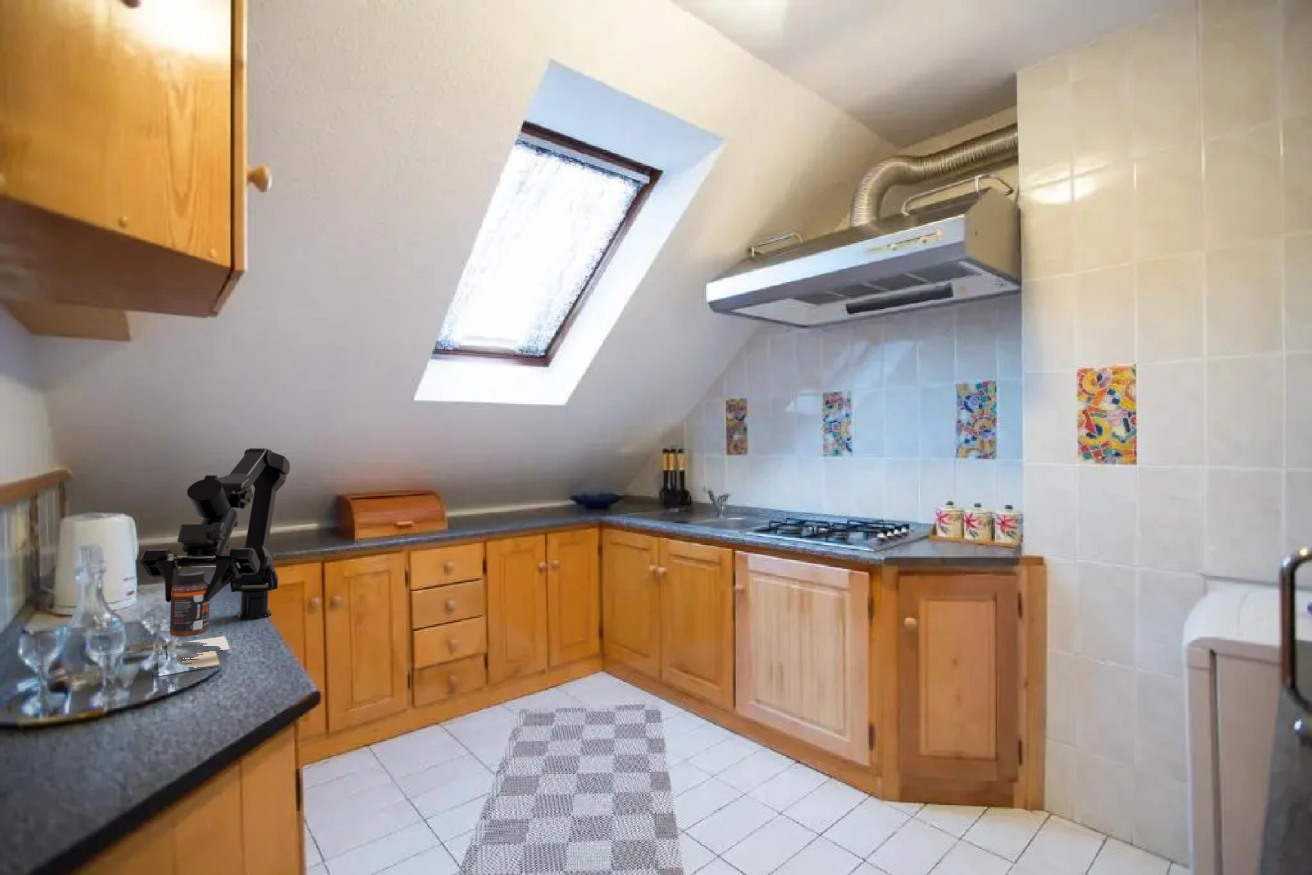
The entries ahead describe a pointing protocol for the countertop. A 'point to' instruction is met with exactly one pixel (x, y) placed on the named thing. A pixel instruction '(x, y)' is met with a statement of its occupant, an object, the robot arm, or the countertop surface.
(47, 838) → the countertop surface
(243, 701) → the countertop surface
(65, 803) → the countertop surface
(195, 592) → the supplement bottle
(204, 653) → the beech pad
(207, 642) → the cream flat square slab
